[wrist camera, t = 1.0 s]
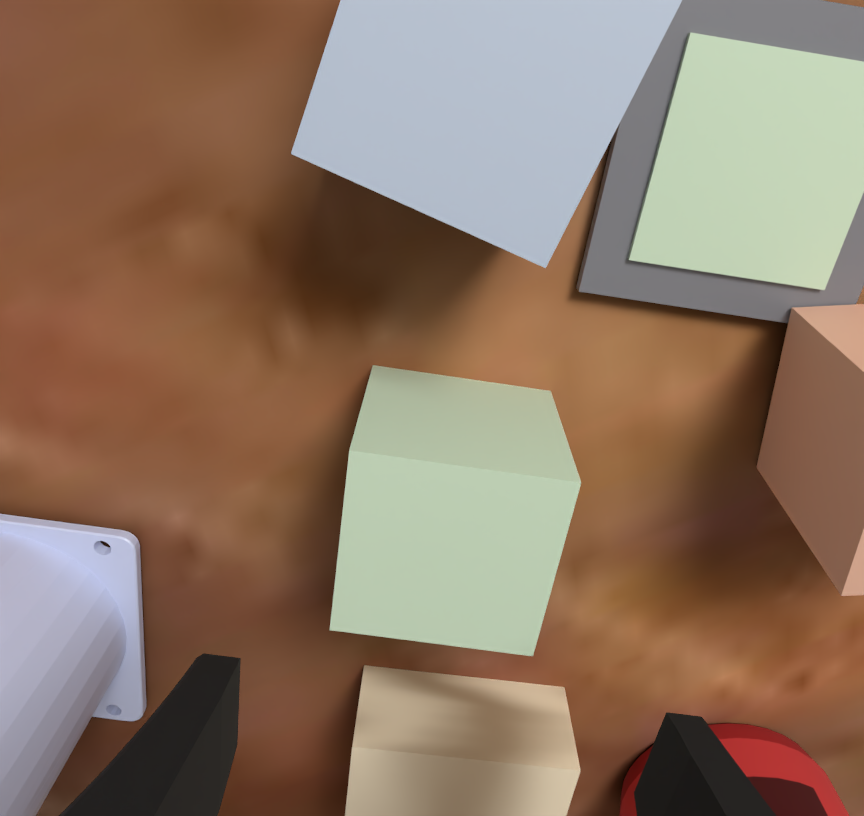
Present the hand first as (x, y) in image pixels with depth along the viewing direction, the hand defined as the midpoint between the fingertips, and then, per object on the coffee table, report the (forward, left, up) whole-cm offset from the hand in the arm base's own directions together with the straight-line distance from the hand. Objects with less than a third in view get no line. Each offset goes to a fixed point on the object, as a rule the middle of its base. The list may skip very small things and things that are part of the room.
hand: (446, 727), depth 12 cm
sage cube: (0, 0, -10) cm, 10 cm away
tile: (+6, +9, -9) cm, 14 cm away
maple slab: (+2, -12, -10) cm, 16 cm away
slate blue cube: (-1, +10, -10) cm, 14 cm away
